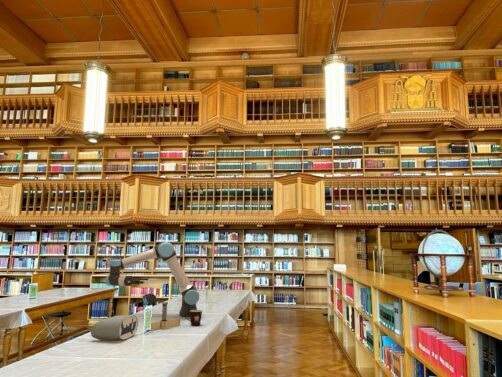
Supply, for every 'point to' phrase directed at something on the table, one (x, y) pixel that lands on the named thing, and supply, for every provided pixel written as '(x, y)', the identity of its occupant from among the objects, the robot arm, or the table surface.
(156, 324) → the hinge leaf
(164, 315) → the hinge pin
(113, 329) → the pencil case
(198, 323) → the coffee mug
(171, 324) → the hinge leaf
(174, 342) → the table surface
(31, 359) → the table surface
